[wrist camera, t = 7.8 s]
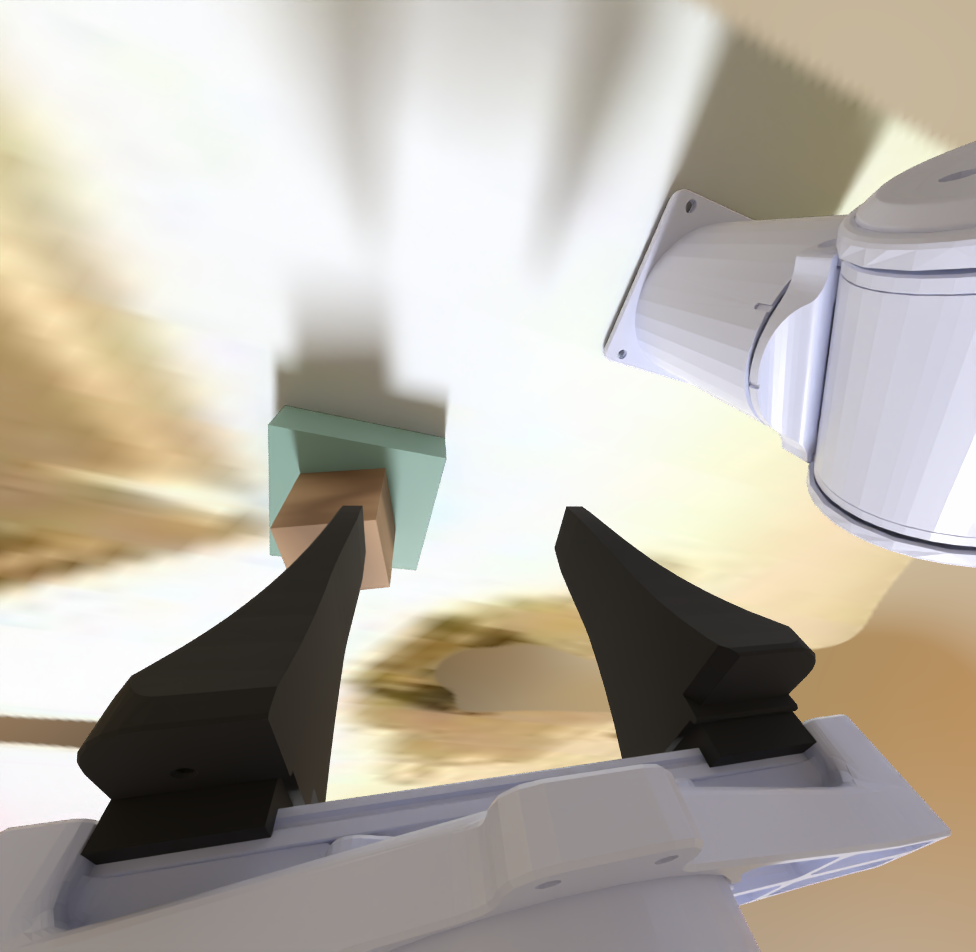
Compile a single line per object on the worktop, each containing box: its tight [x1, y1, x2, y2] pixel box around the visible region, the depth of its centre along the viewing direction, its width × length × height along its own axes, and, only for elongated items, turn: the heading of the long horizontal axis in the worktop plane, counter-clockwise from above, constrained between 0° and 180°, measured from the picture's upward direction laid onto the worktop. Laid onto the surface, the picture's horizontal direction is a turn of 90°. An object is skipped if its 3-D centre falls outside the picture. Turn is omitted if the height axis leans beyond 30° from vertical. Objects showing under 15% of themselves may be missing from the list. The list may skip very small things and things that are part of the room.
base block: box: [268, 406, 446, 570], centre depth 23 cm, size 9×9×3 cm
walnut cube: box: [270, 468, 396, 590], centre depth 19 cm, size 4×4×4 cm
